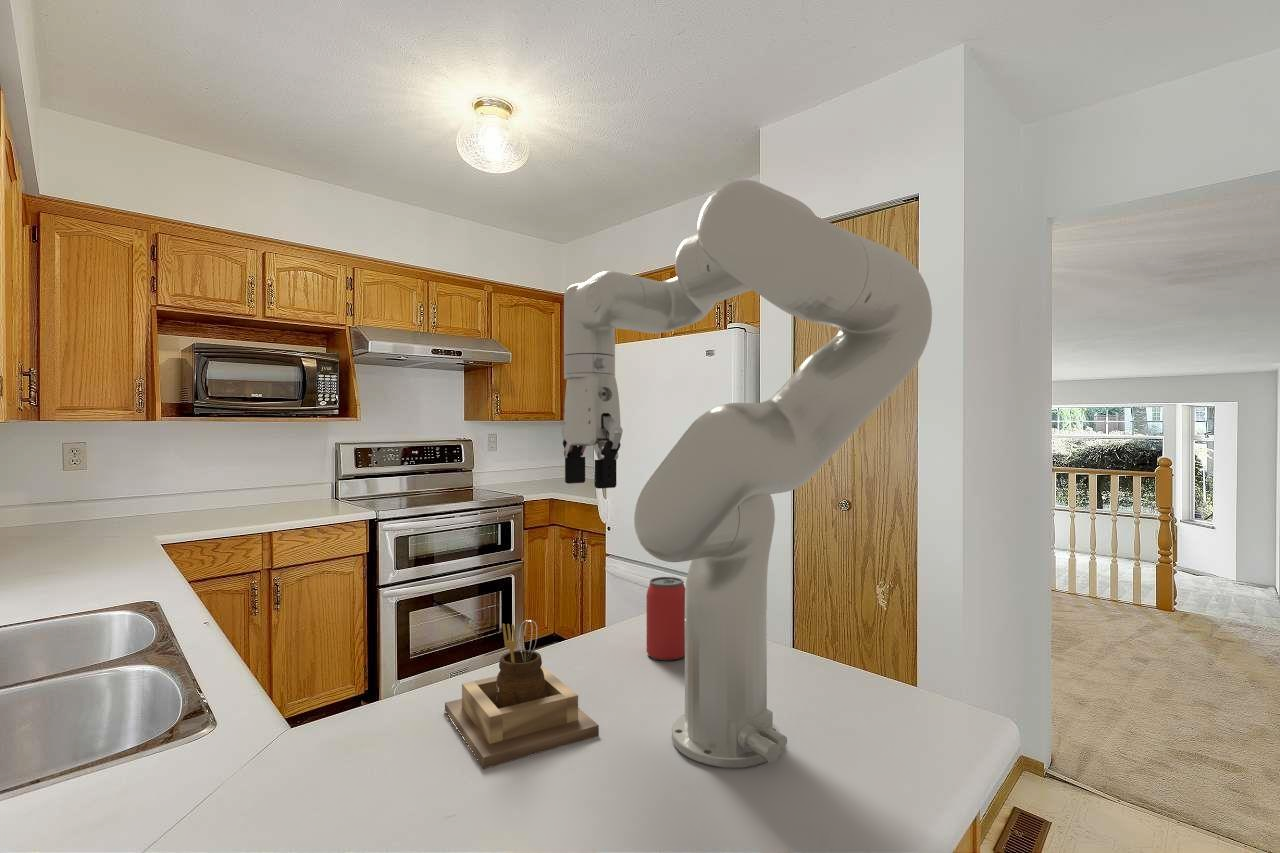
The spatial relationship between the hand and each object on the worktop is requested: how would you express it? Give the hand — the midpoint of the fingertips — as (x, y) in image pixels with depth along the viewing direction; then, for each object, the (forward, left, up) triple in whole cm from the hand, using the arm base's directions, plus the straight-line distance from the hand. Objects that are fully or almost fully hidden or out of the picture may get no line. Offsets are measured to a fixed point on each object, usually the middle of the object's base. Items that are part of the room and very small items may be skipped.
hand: (589, 485), depth 92 cm
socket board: (-8, +14, -28) cm, 33 cm away
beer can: (+2, -15, -28) cm, 32 cm away
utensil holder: (-8, +14, -27) cm, 32 cm away
